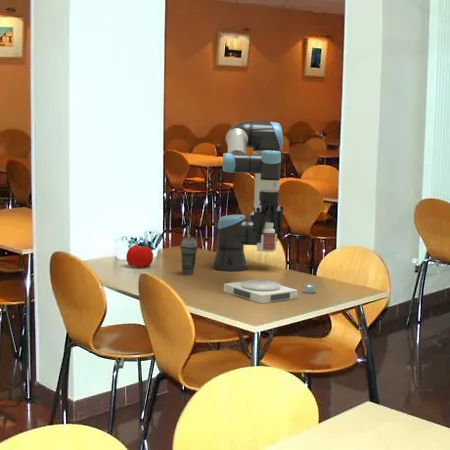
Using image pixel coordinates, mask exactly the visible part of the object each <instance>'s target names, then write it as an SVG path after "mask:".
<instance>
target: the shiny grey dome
mask: <svg viewBox="0 0 450 450" xmlns="http://www.w3.org/2000/svg"><path fill="white" fill-rule="evenodd" d="M316 288H317V286H316V284H314V283H303V284H302V293H303V294H307V295H311V294H312V295H314V294H316V292H317V289H316ZM313 293H314V294H313Z"/></svg>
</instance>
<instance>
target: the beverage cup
mask: <svg viewBox="0 0 450 450" xmlns="http://www.w3.org/2000/svg"><path fill="white" fill-rule="evenodd" d="M186 229H187V236H186V237H184V238H183V239H182V241H181V243H180V252H181V268H182V269H181V271H182V274H183V275H185V276H192V275H194V273H195V272H194V271H195V267H196V265H195V264H196V257H197V252H198V243H197V240H196V239H195V238H194V237H191V236H190V233H189V231H190V228H189V226H187V228H186Z"/></svg>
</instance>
